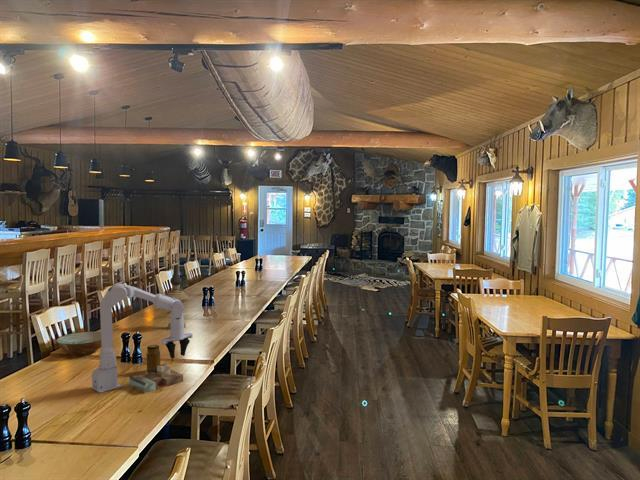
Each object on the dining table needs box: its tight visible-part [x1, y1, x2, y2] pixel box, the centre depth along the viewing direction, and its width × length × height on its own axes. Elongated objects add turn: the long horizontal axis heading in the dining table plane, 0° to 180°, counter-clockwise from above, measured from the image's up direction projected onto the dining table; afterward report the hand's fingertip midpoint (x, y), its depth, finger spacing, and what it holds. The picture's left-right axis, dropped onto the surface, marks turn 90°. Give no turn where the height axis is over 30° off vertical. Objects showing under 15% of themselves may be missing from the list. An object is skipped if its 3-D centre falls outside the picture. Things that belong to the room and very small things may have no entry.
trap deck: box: [128, 369, 184, 394], centre depth 208 cm, size 18×13×4 cm
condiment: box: [143, 344, 161, 375], centre depth 224 cm, size 7×8×12 cm
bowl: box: [55, 330, 102, 356], centre depth 254 cm, size 25×25×8 cm
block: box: [156, 363, 171, 377], centre depth 211 cm, size 4×4×4 cm
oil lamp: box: [165, 264, 189, 331], centre depth 306 cm, size 15×15×40 cm
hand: (177, 356), depth 216 cm, fingers open, 5 cm apart
